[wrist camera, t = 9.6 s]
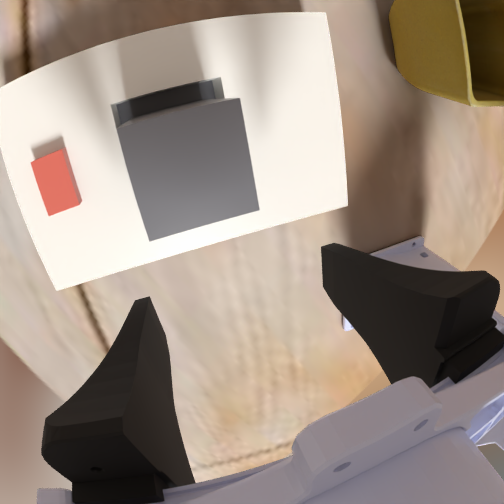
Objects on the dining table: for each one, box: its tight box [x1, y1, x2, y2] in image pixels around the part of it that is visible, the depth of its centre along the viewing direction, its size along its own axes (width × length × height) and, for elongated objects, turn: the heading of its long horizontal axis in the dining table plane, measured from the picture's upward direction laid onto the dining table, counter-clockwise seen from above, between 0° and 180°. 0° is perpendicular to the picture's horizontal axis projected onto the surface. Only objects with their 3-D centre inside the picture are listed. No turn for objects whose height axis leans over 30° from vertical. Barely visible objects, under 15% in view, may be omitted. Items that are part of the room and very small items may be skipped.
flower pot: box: [389, 0, 504, 107], centre depth 16 cm, size 9×9×9 cm
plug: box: [117, 98, 260, 242], centre depth 15 cm, size 4×4×9 cm
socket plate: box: [0, 12, 348, 291], centre depth 17 cm, size 20×13×4 cm, turn 100°
